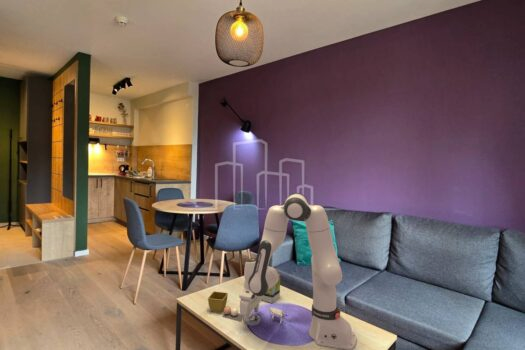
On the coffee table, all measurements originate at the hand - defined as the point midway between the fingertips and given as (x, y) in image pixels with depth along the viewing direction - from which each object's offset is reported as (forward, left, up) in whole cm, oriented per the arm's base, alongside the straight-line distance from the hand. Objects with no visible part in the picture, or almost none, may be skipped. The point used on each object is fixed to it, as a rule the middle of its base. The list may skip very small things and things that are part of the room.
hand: (252, 315), depth 155 cm
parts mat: (+11, 0, -4) cm, 11 cm away
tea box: (+5, -29, -4) cm, 30 cm away
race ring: (0, 0, -4) cm, 4 cm away
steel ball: (0, 0, -3) cm, 3 cm away
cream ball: (+9, 0, 0) cm, 9 cm away
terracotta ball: (+15, 0, -3) cm, 15 cm away
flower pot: (+22, -2, -4) cm, 23 cm away
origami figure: (-10, -8, -4) cm, 14 cm away
